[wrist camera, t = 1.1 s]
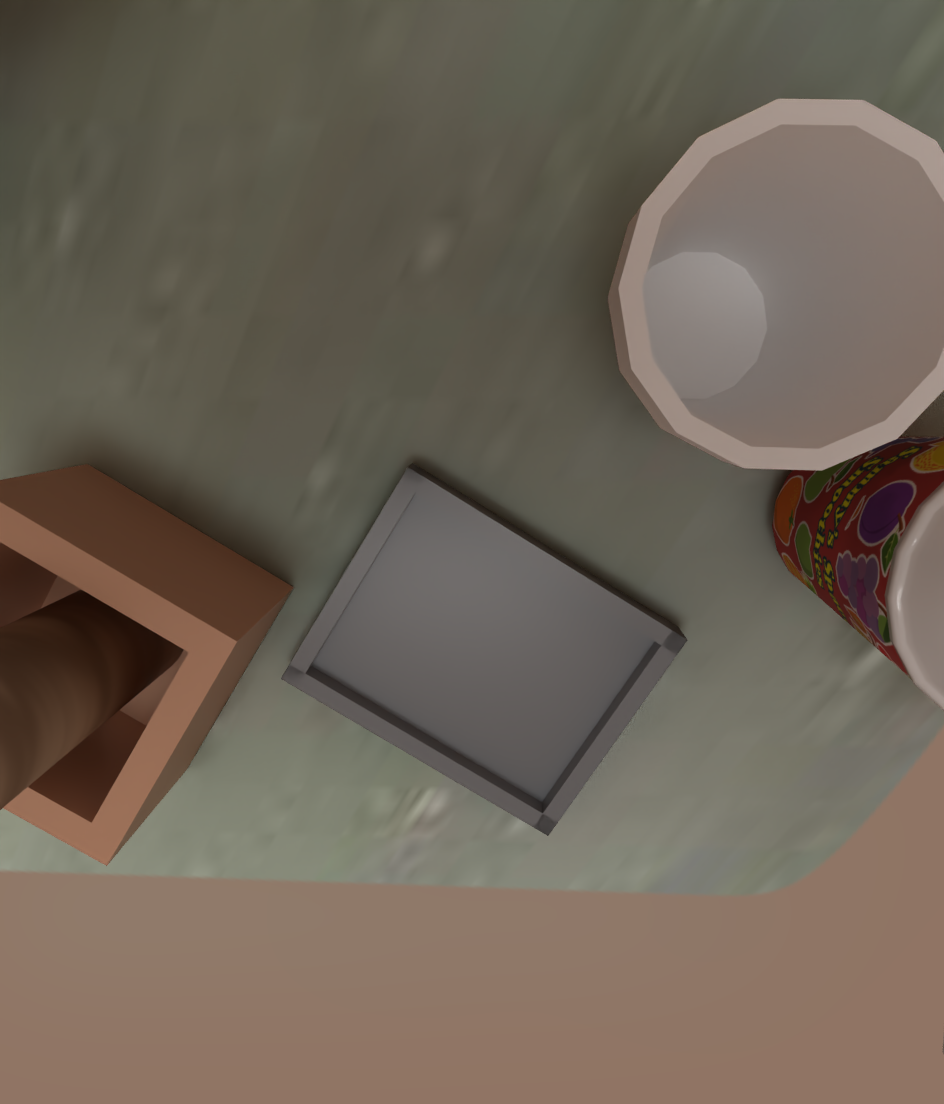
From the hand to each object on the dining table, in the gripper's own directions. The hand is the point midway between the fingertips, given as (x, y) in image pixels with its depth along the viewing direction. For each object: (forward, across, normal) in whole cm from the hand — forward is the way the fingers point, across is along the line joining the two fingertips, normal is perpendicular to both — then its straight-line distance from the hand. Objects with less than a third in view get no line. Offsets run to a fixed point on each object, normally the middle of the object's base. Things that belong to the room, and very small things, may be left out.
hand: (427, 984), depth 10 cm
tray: (+26, 0, -5) cm, 27 cm away
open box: (+27, -16, -3) cm, 31 cm away
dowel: (+26, -16, -3) cm, 31 cm away
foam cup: (+27, +10, +8) cm, 30 cm away
